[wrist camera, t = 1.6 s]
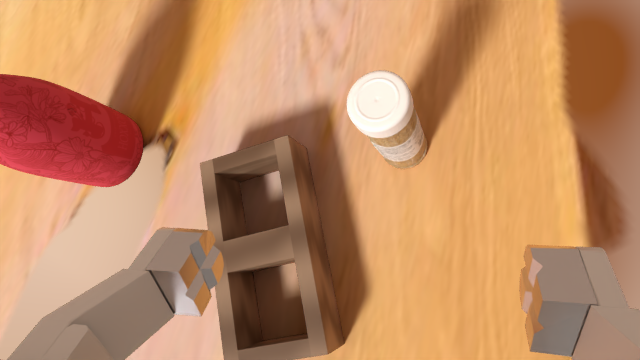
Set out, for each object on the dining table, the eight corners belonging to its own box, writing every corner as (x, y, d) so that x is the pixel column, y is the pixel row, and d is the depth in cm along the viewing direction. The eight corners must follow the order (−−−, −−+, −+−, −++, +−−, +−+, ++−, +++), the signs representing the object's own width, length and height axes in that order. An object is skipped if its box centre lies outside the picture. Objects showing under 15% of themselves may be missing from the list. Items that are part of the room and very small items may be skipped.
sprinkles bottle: (388, 122, 43) (354, 64, 30) (433, 130, 41) (417, 71, 29) (376, 165, 42) (337, 125, 30) (422, 175, 41) (400, 136, 28)
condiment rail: (344, 343, 40) (327, 354, 35) (251, 358, 43) (225, 370, 38) (306, 148, 45) (287, 135, 41) (225, 172, 48) (199, 163, 43)
